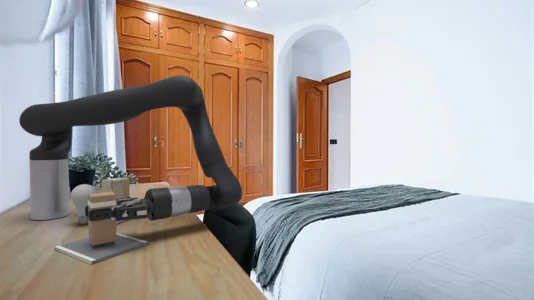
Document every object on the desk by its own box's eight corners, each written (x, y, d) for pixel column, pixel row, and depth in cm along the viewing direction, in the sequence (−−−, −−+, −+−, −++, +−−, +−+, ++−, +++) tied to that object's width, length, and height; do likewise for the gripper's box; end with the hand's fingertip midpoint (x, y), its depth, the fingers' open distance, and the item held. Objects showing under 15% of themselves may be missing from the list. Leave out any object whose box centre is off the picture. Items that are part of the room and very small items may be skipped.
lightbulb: (65, 225, 76) (64, 185, 75) (87, 220, 81) (87, 182, 81) (80, 228, 73) (80, 186, 73) (102, 222, 79) (102, 183, 79)
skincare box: (114, 225, 76) (114, 180, 76) (101, 224, 77) (100, 179, 77) (130, 219, 83) (130, 177, 82) (117, 218, 84) (117, 177, 83)
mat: (54, 249, 59) (54, 246, 59) (110, 233, 70) (110, 231, 69) (91, 264, 52) (91, 261, 52) (147, 244, 62) (147, 241, 62)
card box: (88, 239, 61) (87, 193, 61) (112, 235, 64) (111, 191, 64) (91, 245, 58) (91, 197, 57) (116, 240, 61) (116, 194, 60)
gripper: (158, 183, 75) (81, 191, 64) (179, 191, 64) (92, 201, 53) (158, 211, 75) (82, 223, 64) (180, 223, 64) (92, 240, 53)
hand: (87, 213), depth 59 cm, fingers closed on card box, 4 cm apart
